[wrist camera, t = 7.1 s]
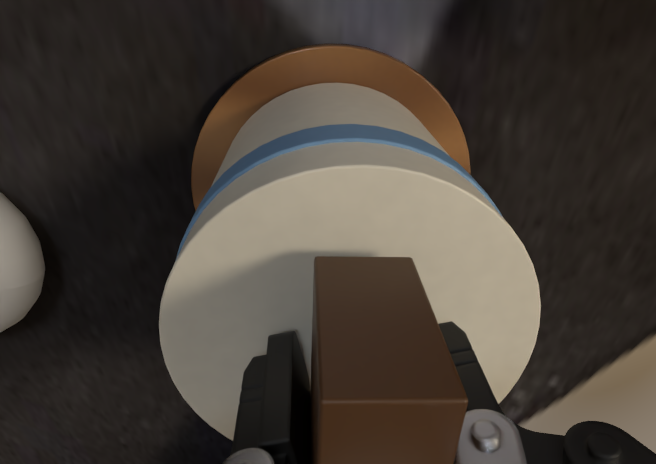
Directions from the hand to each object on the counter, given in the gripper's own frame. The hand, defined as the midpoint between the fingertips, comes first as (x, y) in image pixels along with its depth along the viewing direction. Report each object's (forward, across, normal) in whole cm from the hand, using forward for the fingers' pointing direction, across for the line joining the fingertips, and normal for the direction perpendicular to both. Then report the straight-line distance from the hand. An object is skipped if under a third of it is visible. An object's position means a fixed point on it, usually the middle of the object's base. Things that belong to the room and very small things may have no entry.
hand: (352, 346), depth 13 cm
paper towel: (+11, 0, +1) cm, 11 cm away
